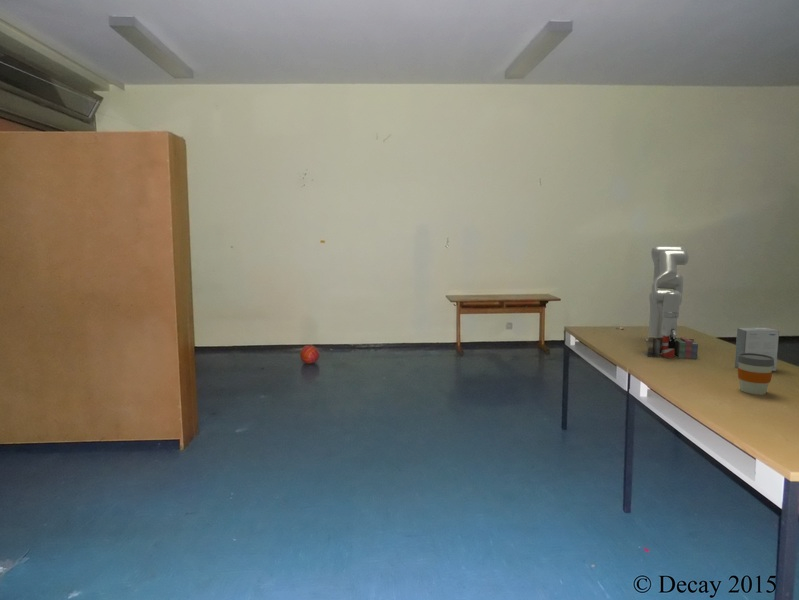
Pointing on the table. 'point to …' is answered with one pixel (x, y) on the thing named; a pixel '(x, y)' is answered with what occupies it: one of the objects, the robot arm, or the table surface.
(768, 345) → the hard drive box
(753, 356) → the reusable coffee cup
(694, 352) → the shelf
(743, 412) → the table surface
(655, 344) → the bookend
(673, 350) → the beverage can
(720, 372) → the table surface
